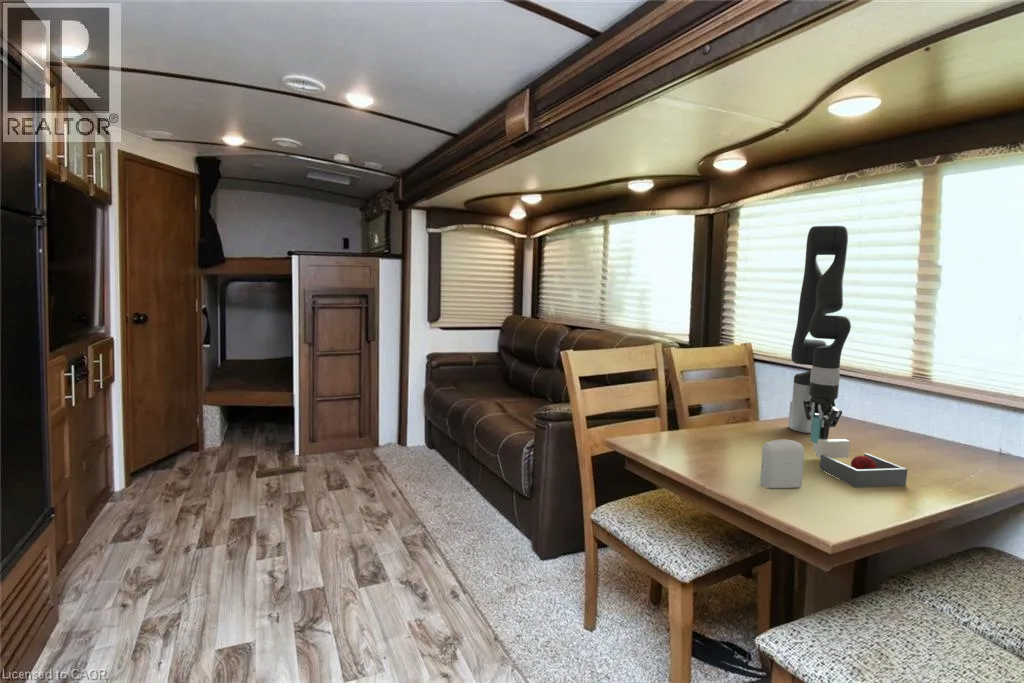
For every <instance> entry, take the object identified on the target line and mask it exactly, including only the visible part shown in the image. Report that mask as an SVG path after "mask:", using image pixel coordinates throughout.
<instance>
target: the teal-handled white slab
mask: <svg viewBox="0 0 1024 683" xmlns="http://www.w3.org/2000/svg"><path fill="white" fill-rule="evenodd" d="M826 422H827V420H825V423H826ZM820 428H821V420H820V419H819V417H813V418H812V428H811V433H810V438H809V441H810V442H812V443H813V445H812V451H813V452H816V453H815V457H817V458H819V459H820V457H821V455H826V456H828V457H830V458H833V459H843V458H844V459H845V458H848V459H849V453H850V446H851V440H848V439H846V438H834V439H832V438H827V439H823V440H822V439H820Z"/></svg>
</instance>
